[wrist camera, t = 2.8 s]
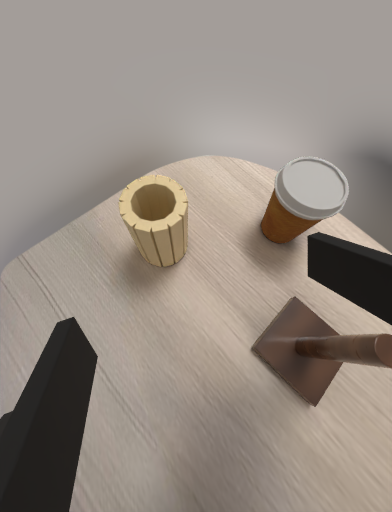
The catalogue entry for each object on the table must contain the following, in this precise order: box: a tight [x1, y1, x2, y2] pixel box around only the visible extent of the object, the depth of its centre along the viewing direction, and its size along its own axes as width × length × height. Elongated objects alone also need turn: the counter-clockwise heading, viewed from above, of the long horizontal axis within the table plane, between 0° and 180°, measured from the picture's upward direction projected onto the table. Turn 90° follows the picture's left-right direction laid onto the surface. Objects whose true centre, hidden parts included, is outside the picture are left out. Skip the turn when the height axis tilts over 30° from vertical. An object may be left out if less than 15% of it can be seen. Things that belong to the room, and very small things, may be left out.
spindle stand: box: [252, 297, 392, 407], centre depth 24 cm, size 10×10×15 cm
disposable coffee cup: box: [261, 157, 349, 243], centre depth 33 cm, size 10×10×12 cm
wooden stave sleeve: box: [119, 175, 188, 267], centre depth 31 cm, size 8×8×12 cm
